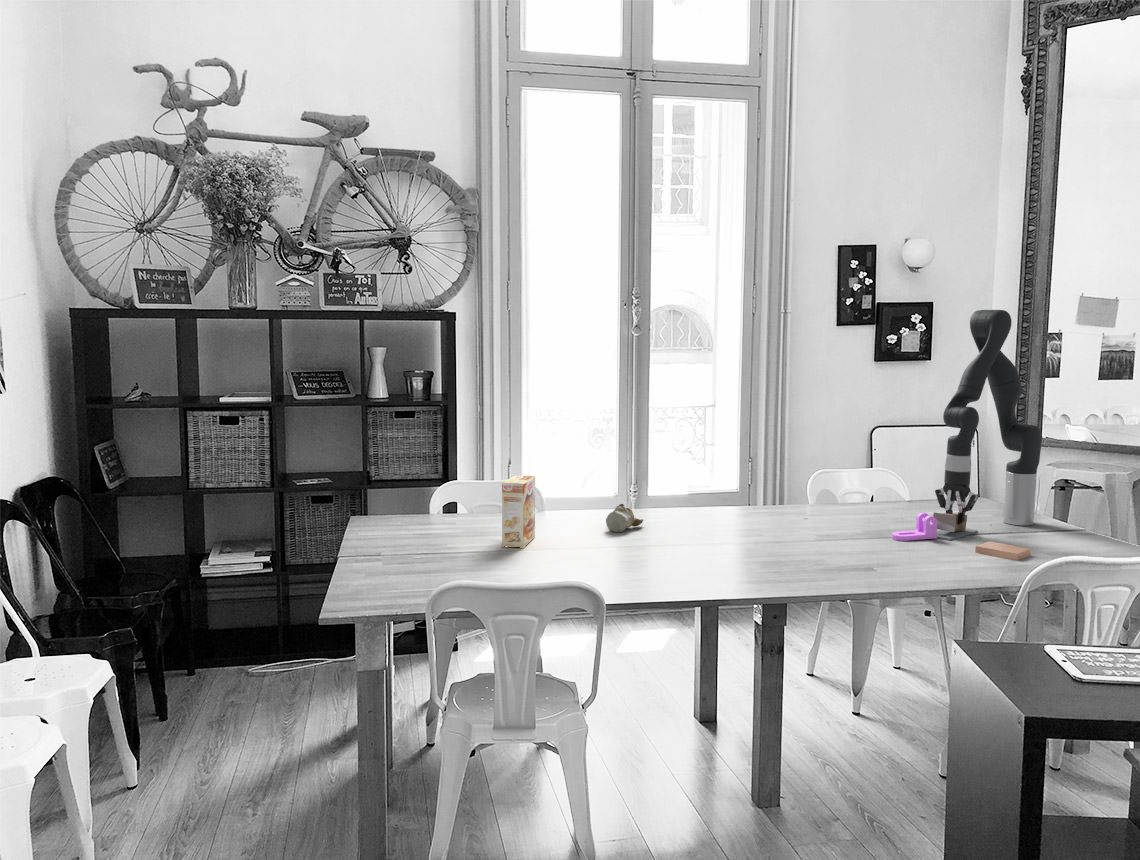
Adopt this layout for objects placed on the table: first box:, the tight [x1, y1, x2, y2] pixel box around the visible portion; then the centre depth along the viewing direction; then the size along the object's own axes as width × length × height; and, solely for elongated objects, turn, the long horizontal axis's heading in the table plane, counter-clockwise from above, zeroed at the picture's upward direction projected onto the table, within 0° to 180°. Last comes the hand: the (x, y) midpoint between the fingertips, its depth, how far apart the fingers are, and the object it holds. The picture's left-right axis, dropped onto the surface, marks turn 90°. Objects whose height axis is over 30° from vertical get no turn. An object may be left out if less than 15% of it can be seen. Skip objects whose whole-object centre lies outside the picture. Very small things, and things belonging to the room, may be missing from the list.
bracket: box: [891, 512, 938, 542], centre depth 291 cm, size 13×6×7 cm, turn 99°
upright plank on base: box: [932, 511, 968, 532], centre depth 297 cm, size 12×7×5 cm, turn 130°
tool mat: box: [936, 528, 979, 542], centre depth 297 cm, size 18×8×1 cm, turn 130°
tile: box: [974, 541, 1032, 561], centre depth 272 cm, size 2×12×9 cm
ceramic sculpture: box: [605, 503, 644, 533], centre depth 303 cm, size 11×9×15 cm
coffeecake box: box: [501, 474, 536, 549], centre depth 284 cm, size 15×7×20 cm, turn 168°
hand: (954, 522), depth 298 cm, fingers closed on upright plank on base, 3 cm apart
